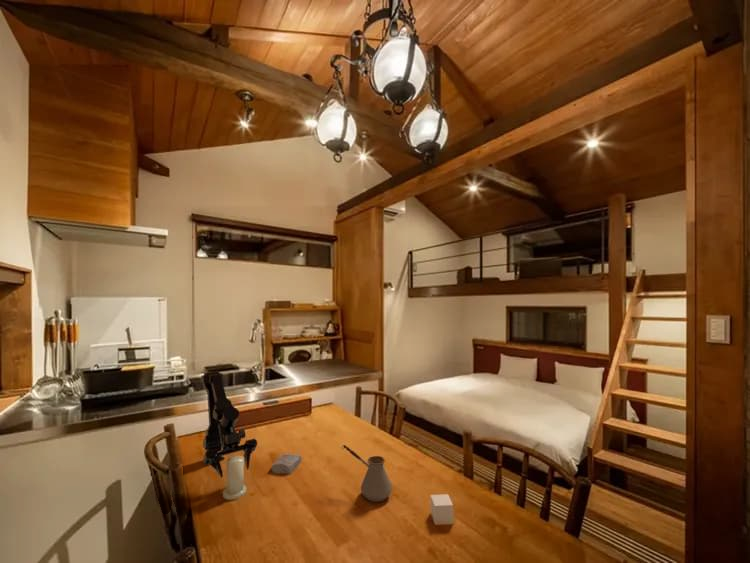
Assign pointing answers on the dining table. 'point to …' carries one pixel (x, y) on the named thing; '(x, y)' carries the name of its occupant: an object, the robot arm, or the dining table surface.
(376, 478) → the coffee pot
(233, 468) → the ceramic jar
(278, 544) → the dining table surface
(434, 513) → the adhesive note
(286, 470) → the stone block
